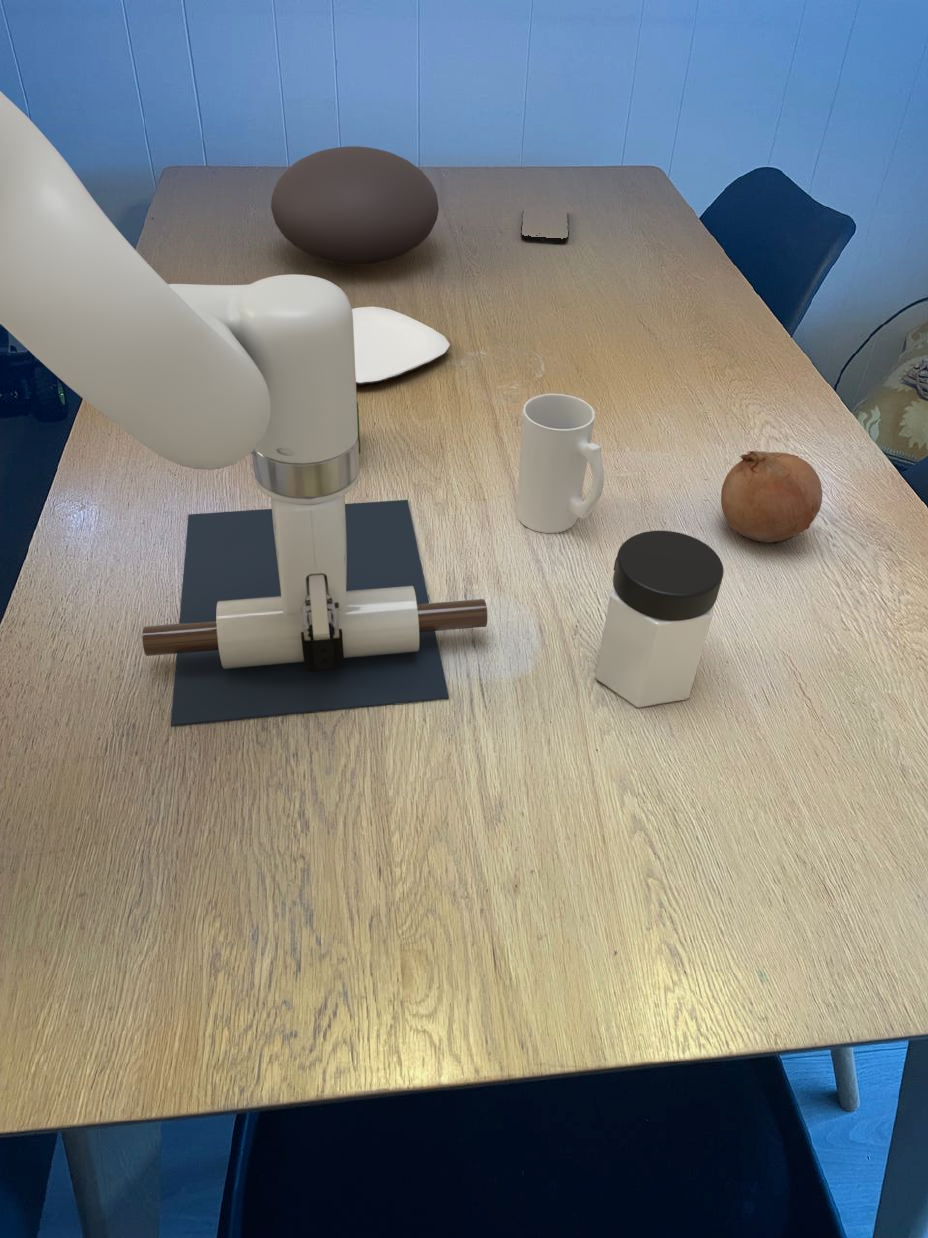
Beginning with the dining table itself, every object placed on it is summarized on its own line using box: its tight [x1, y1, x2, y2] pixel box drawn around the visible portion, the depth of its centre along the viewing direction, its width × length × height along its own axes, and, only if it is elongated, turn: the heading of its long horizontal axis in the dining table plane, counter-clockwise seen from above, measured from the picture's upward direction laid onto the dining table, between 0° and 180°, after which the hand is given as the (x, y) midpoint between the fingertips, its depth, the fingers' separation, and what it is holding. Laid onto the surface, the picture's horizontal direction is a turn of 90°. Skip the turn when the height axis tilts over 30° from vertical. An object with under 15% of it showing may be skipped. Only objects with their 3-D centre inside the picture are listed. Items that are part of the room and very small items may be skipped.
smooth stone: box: [270, 145, 440, 266], centre depth 139 cm, size 25×25×15 cm
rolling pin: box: [141, 586, 489, 669], centre depth 77 cm, size 28×6×6 cm, turn 99°
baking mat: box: [170, 499, 450, 727], centre depth 85 cm, size 28×22×1 cm
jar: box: [594, 530, 725, 708], centre depth 75 cm, size 9×8×12 cm
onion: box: [720, 450, 823, 544], centre depth 92 cm, size 10×9×10 cm
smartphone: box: [520, 226, 570, 244], centre depth 156 cm, size 8×1×15 cm
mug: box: [516, 393, 605, 534], centre depth 90 cm, size 10×7×12 cm, turn 37°
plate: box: [352, 306, 451, 385], centre depth 120 cm, size 18×18×2 cm
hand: (322, 639), depth 78 cm, fingers closed on rolling pin, 5 cm apart
